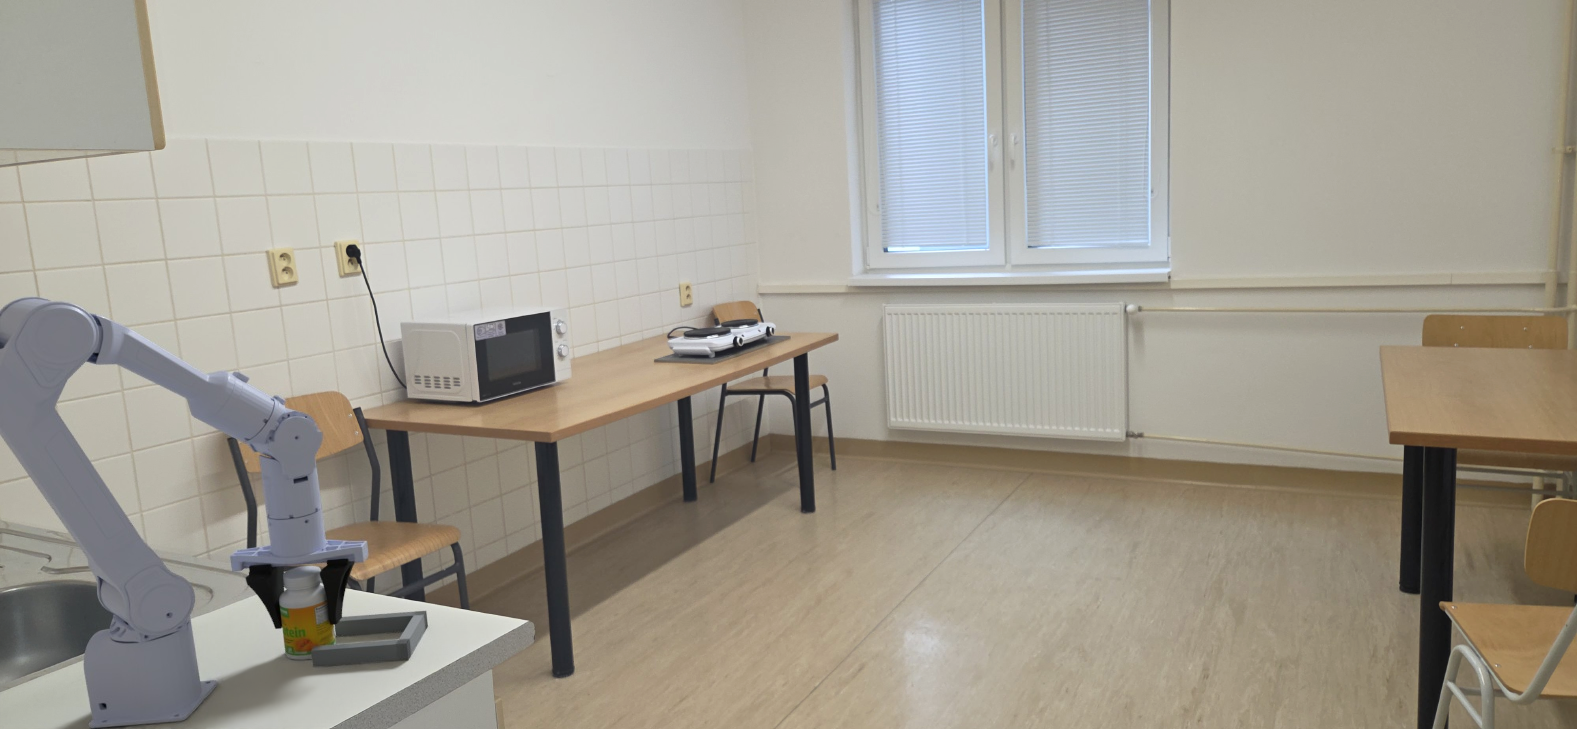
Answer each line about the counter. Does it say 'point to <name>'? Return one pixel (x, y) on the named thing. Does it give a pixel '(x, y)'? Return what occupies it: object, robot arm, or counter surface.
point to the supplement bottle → (304, 613)
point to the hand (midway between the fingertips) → (309, 623)
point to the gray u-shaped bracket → (377, 650)
